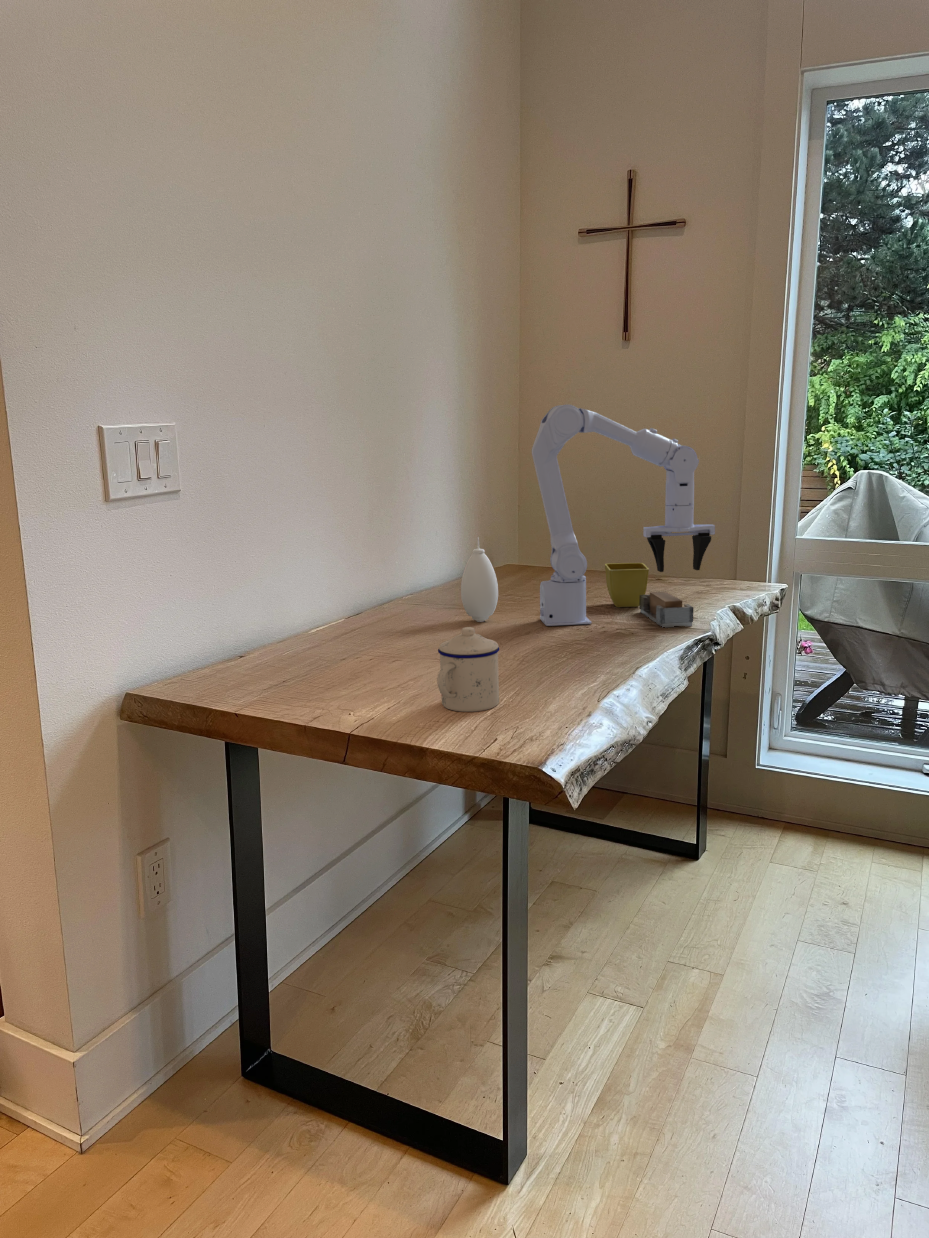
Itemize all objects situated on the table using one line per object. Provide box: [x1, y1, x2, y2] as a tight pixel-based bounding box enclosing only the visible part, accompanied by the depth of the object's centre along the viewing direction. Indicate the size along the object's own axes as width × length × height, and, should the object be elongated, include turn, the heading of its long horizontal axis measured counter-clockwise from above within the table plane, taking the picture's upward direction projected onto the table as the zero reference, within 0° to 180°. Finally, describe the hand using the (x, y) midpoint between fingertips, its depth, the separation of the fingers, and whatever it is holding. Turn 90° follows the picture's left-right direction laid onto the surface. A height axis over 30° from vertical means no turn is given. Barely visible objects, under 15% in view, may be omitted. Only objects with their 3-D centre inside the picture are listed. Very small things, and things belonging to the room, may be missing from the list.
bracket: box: [638, 594, 694, 628], centre depth 194 cm, size 7×16×4 cm, turn 5°
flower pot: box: [604, 562, 650, 608], centre depth 209 cm, size 9×9×9 cm
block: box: [649, 590, 683, 614], centre depth 194 cm, size 4×11×4 cm, turn 5°
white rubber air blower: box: [460, 536, 499, 623], centre depth 196 cm, size 8×8×18 cm
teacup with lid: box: [436, 626, 500, 713], centre depth 138 cm, size 12×9×12 cm
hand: (678, 570), depth 194 cm, fingers open, 7 cm apart
